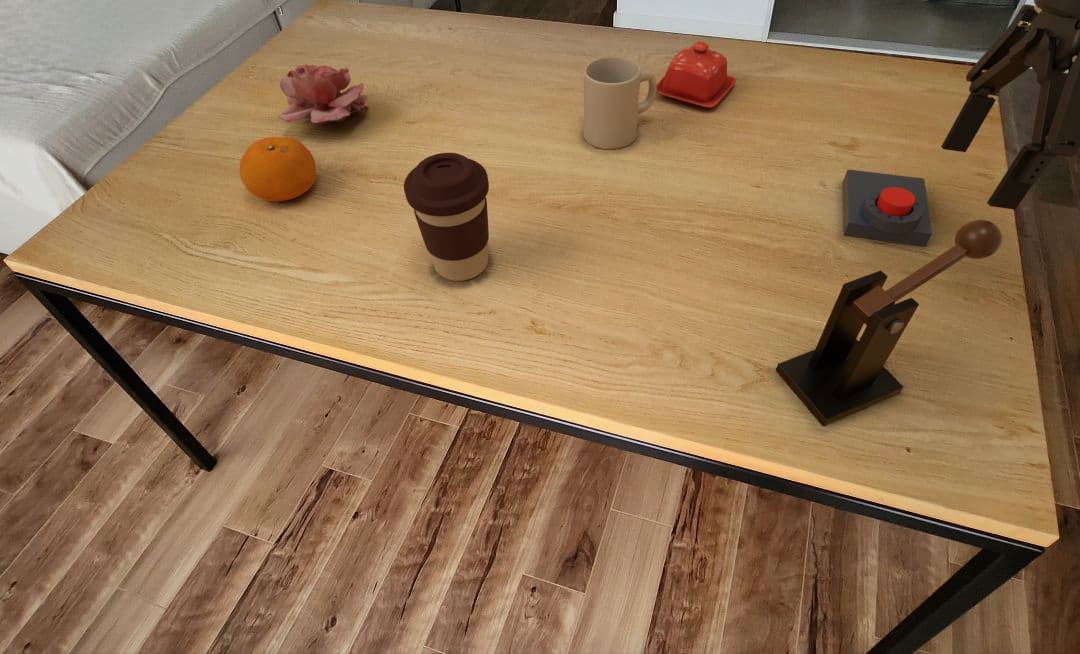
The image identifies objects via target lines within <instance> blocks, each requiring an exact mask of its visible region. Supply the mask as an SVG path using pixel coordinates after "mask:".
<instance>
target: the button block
mask: <svg viewBox="0 0 1080 654" xmlns="http://www.w3.org/2000/svg"><path fill="white" fill-rule="evenodd" d="M889 187H899V188H903V189H905V190H908V191H909V192H911V193H912V194H913V195H914V197H915V202H914V204H913V206H912V208H911V210H910V212H909V214H908V215H906V216H903V217H897V216H890V215H888V214H886V213H884V212H881V211H880V210H879V209H878V208H877V201H878V199H879V197H880V194H881V192H882V191H883V190H884V189H886V188H889ZM842 208H843V209H842V210H843V213H842V214H843V236H847V237H855V238H862V239H868V240H876V241H883V242H888V243H889V242H890V243H897V244H904V245H911V246H918V247H927V245H928V243H929V242H930V239H931V238H932V236H933V228H932V222H931V215H930V209H929V202H928V195H927V189H926V183H925V178H923V177H915V176H907V175H900V174H899V175H898V174H891V173H890V174H889V173H882V172H873V171H864V170H856V169H849V168H848V169H846V172H845V175H844V178H843V180H842Z"/></svg>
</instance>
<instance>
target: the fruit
mask: <svg viewBox="0 0 1080 654" xmlns="http://www.w3.org/2000/svg"><path fill="white" fill-rule="evenodd" d="M238 172H239V173H238V174H239V177H240V180H241V182H242V183H243V185H244V187H245V189H246V190H247V191H248V192H249V193H251V194H252V195H253V196H255V197H256V198H258V199H261V200H263V201H268V202H269V201H270V202H285V201H289V200H292V199H294V198H297V197H300V196H302V195H304V193H306V192H307V191H308V190H310V189H311V187H312V186H313V184H314V183H315V181H316V176H317V166H316V161H315V159H314V156H313V154H312V153H311V151H310V150H309V149H308V148H307V147H306V146H305V145H304V144H303V143H302V142H301V141H299V140H297V139H295V138H294V137H293V138H292V137H289V136H268V137H267V136H266V137H263V138H260V139H258V140H256V141H254V142H253V143H251V144H250V145H249V147H247V149H246V150H245V152H244V153H243V155H242V157H241V158H240V162H239V167H238Z"/></svg>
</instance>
